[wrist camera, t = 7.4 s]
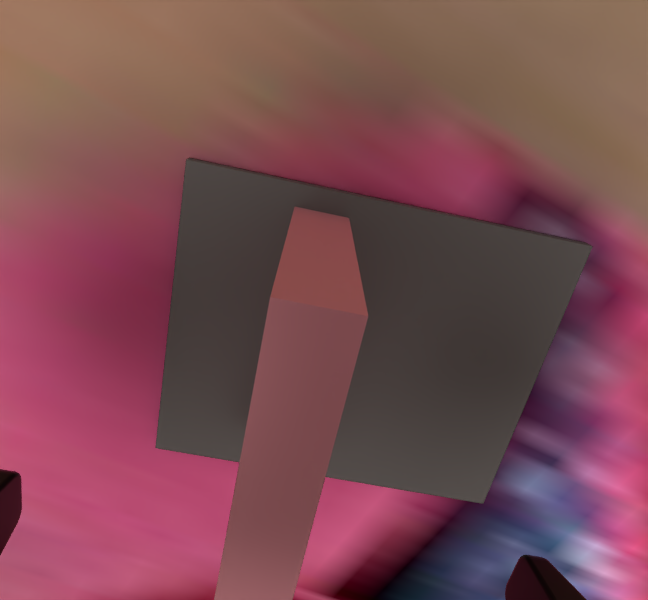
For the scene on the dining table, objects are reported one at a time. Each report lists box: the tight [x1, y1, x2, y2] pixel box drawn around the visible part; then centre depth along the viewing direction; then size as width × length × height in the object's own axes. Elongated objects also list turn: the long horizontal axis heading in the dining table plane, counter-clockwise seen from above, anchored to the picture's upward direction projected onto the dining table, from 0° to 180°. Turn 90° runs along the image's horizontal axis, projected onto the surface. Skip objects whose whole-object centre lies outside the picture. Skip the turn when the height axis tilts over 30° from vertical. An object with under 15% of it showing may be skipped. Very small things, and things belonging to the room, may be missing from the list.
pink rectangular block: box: [214, 207, 368, 600], centre depth 13 cm, size 8×2×7 cm, turn 168°
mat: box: [156, 158, 593, 503], centre depth 16 cm, size 10×12×1 cm
